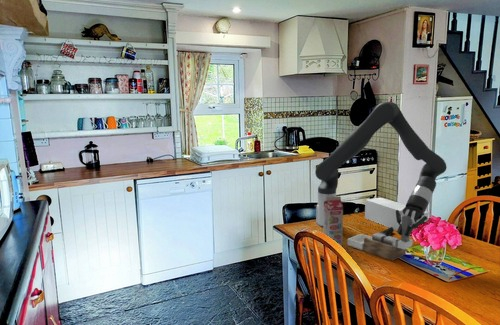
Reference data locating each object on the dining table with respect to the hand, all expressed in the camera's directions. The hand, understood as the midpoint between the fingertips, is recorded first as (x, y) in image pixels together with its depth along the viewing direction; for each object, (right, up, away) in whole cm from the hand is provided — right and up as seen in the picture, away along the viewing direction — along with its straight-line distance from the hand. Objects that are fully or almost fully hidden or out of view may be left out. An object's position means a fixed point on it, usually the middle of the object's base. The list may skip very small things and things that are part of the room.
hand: (402, 234), depth 143 cm
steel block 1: (-6, -6, +11) cm, 14 cm away
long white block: (+14, -4, +44) cm, 47 cm away
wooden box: (-4, -9, +10) cm, 14 cm away
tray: (-11, -8, +18) cm, 23 cm away
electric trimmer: (+3, -7, +29) cm, 30 cm away
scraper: (+2, -5, +2) cm, 6 cm away
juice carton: (-23, -8, +20) cm, 32 cm away
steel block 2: (-2, -7, +7) cm, 10 cm away
